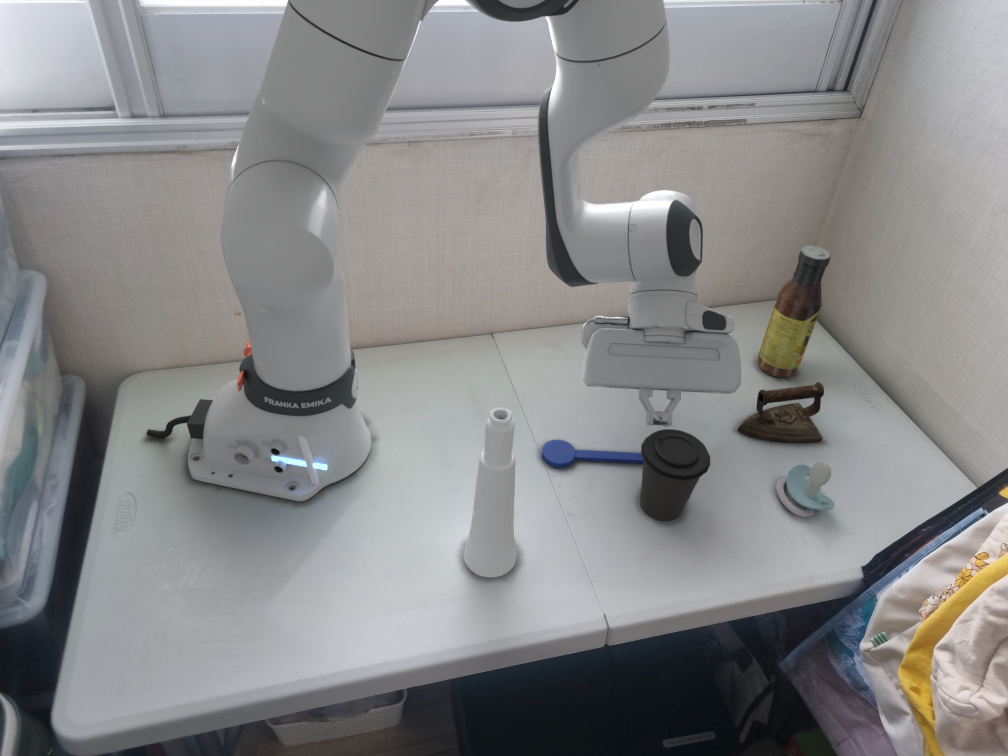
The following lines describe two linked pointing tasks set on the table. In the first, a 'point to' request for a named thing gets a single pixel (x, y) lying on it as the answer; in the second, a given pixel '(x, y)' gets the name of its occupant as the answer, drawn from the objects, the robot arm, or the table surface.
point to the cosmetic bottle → (494, 501)
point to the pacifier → (806, 488)
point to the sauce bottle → (794, 315)
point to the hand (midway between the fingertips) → (658, 425)
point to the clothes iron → (785, 416)
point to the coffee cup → (670, 472)
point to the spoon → (582, 455)
